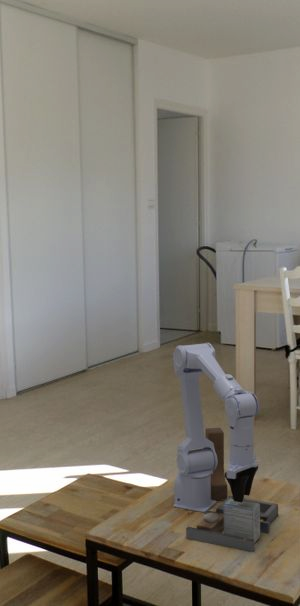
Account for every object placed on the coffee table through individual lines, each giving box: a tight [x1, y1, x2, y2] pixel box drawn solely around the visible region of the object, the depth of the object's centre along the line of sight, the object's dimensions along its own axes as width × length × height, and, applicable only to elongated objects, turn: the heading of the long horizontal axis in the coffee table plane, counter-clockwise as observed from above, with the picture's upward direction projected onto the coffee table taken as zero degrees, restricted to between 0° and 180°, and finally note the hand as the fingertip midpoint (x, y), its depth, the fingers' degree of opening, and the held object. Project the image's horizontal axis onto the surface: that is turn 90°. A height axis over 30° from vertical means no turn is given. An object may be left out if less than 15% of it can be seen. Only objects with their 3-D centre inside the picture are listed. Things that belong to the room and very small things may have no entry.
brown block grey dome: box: [196, 512, 224, 533], centre depth 185 cm, size 4×9×4 cm, turn 152°
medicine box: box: [223, 499, 261, 544], centre depth 181 cm, size 8×4×9 cm, turn 63°
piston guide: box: [185, 510, 271, 553], centre depth 183 cm, size 17×13×3 cm
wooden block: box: [204, 427, 228, 501], centre depth 208 cm, size 9×4×18 cm, turn 6°
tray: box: [215, 495, 279, 525], centre depth 194 cm, size 13×9×3 cm
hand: (241, 497), depth 181 cm, fingers open, 4 cm apart
